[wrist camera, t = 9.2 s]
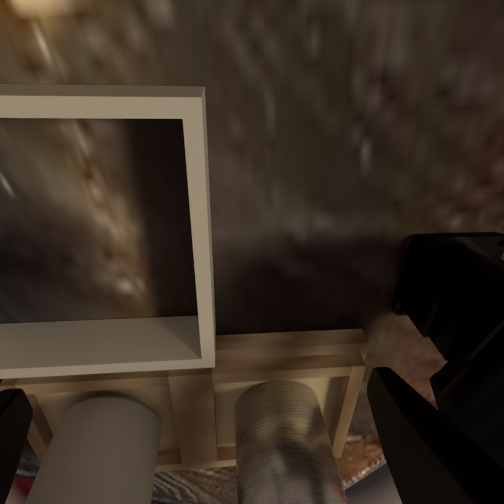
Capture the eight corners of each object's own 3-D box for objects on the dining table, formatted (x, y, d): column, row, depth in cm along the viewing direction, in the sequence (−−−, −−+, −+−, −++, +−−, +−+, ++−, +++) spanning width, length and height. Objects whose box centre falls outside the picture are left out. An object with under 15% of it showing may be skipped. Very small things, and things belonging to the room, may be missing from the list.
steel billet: (323, 377, 27) (387, 581, 17) (313, 430, 31) (361, 625, 20) (233, 382, 26) (243, 597, 16) (234, 435, 30) (242, 639, 20)
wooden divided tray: (362, 328, 27) (375, 355, 24) (335, 434, 34) (344, 463, 32) (6, 345, 25) (-16, 376, 22) (59, 454, 32) (46, 486, 30)
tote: (204, 86, 17) (201, 97, 14) (215, 323, 25) (215, 367, 22) (-140, 82, 16) (-238, 92, 12) (-12, 333, 24) (-51, 381, 20)
